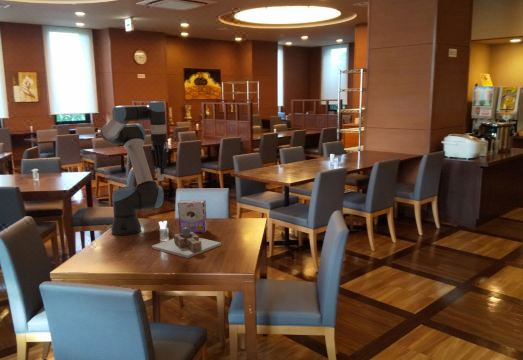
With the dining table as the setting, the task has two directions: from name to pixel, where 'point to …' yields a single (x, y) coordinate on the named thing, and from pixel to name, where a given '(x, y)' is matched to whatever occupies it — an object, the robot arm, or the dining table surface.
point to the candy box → (192, 215)
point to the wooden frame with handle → (187, 241)
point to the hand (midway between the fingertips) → (160, 180)
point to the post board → (185, 251)
